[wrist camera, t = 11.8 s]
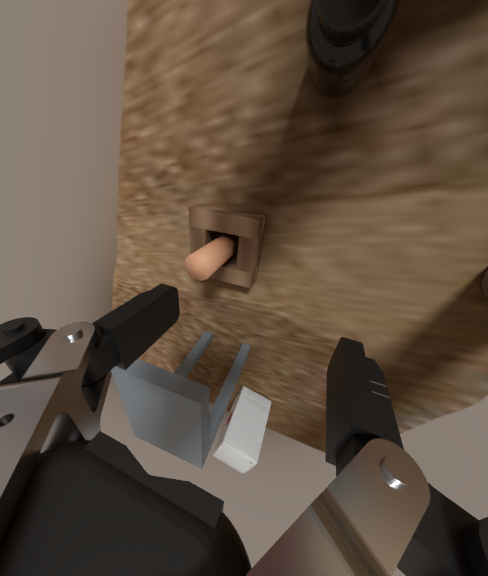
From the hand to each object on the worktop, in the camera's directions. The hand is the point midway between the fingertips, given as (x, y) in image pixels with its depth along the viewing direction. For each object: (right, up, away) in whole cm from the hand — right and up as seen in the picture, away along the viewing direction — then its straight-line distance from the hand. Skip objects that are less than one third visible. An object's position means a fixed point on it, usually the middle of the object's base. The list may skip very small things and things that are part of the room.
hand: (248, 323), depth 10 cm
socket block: (-3, +10, +28) cm, 30 cm away
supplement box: (+2, -31, +49) cm, 58 cm away
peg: (-3, +10, +28) cm, 30 cm away
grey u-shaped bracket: (-4, -5, +37) cm, 38 cm away
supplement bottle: (+11, +28, +14) cm, 33 cm away
